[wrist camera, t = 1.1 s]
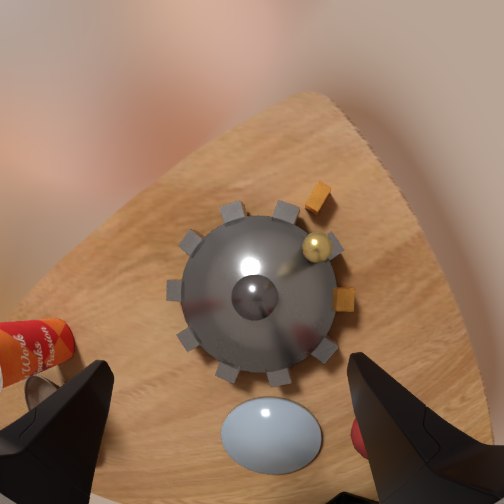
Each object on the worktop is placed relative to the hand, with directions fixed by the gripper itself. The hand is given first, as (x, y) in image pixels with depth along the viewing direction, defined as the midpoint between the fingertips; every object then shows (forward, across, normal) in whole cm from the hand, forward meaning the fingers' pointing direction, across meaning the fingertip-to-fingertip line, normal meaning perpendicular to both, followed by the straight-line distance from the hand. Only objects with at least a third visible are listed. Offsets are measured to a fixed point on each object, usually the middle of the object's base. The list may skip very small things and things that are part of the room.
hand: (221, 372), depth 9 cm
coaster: (+8, -2, +19) cm, 21 cm away
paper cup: (+16, +25, +13) cm, 32 cm away
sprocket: (+15, -1, +6) cm, 16 cm away
